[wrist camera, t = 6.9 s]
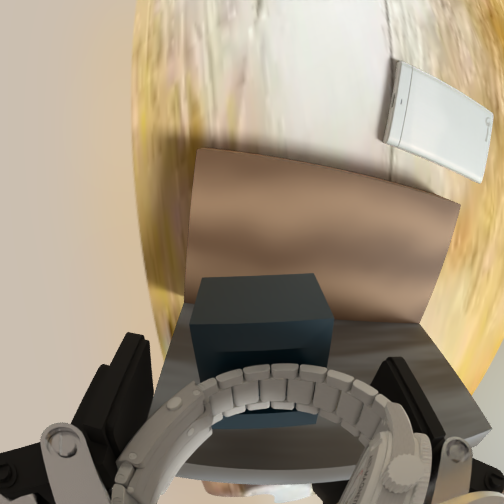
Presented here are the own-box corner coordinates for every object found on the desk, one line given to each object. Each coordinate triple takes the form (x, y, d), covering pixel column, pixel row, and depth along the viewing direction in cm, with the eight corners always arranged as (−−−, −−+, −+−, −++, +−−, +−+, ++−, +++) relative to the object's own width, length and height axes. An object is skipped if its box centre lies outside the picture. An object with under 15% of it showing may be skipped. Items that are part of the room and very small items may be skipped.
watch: (343, 369, 13) (407, 575, 3) (180, 377, 13) (142, 593, 3) (360, 268, 11) (520, 528, 1) (158, 276, 11) (34, 568, 1)
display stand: (205, 147, 23) (102, 175, 6) (436, 194, 24) (583, 271, 8) (190, 298, 28) (143, 469, 11) (396, 318, 29) (476, 445, 13)
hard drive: (494, 113, 20) (402, 59, 19) (481, 184, 23) (388, 143, 22) (484, 112, 21) (394, 62, 20) (472, 181, 24) (379, 142, 23)
